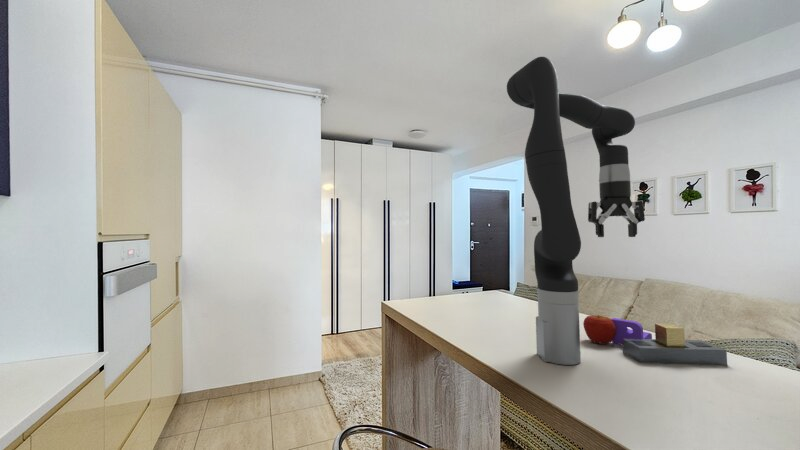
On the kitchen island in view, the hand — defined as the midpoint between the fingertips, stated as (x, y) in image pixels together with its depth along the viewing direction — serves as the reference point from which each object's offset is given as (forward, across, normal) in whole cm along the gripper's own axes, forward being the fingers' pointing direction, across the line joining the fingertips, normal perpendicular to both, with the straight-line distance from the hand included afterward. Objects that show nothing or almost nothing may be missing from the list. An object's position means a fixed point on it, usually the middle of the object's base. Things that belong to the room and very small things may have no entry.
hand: (616, 237), depth 92 cm
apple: (+30, -6, -1) cm, 31 cm away
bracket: (+30, +4, +1) cm, 31 cm away
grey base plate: (+30, +6, -12) cm, 33 cm away
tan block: (+30, +5, -12) cm, 33 cm away
